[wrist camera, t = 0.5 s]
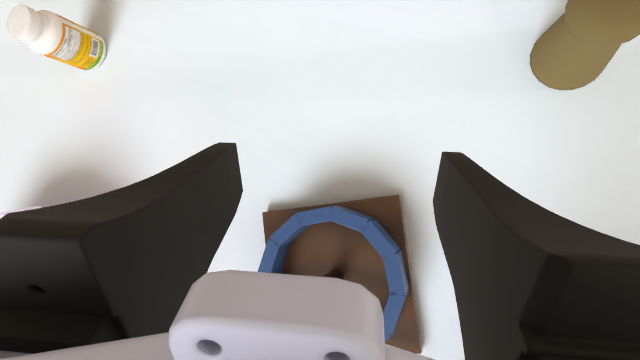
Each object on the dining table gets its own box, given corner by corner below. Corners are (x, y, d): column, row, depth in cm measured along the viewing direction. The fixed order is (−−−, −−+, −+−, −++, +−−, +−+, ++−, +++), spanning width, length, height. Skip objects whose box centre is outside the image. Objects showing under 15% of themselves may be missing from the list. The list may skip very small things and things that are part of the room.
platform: (421, 349, 36) (418, 369, 32) (280, 349, 41) (261, 367, 36) (400, 195, 37) (394, 194, 33) (266, 212, 42) (246, 213, 38)
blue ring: (420, 344, 35) (418, 356, 32) (284, 353, 39) (271, 365, 37) (390, 195, 37) (385, 195, 34) (262, 220, 41) (249, 221, 38)
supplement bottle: (73, 50, 53) (-4, 19, 44) (98, 26, 52) (23, -12, 43) (87, 79, 52) (11, 53, 43) (113, 55, 51) (39, 23, 42)
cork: (582, 101, 33) (647, 55, 22) (516, 73, 34) (547, 18, 24) (622, 39, 32) (708, -39, 22) (552, 14, 34) (601, -69, 23)
